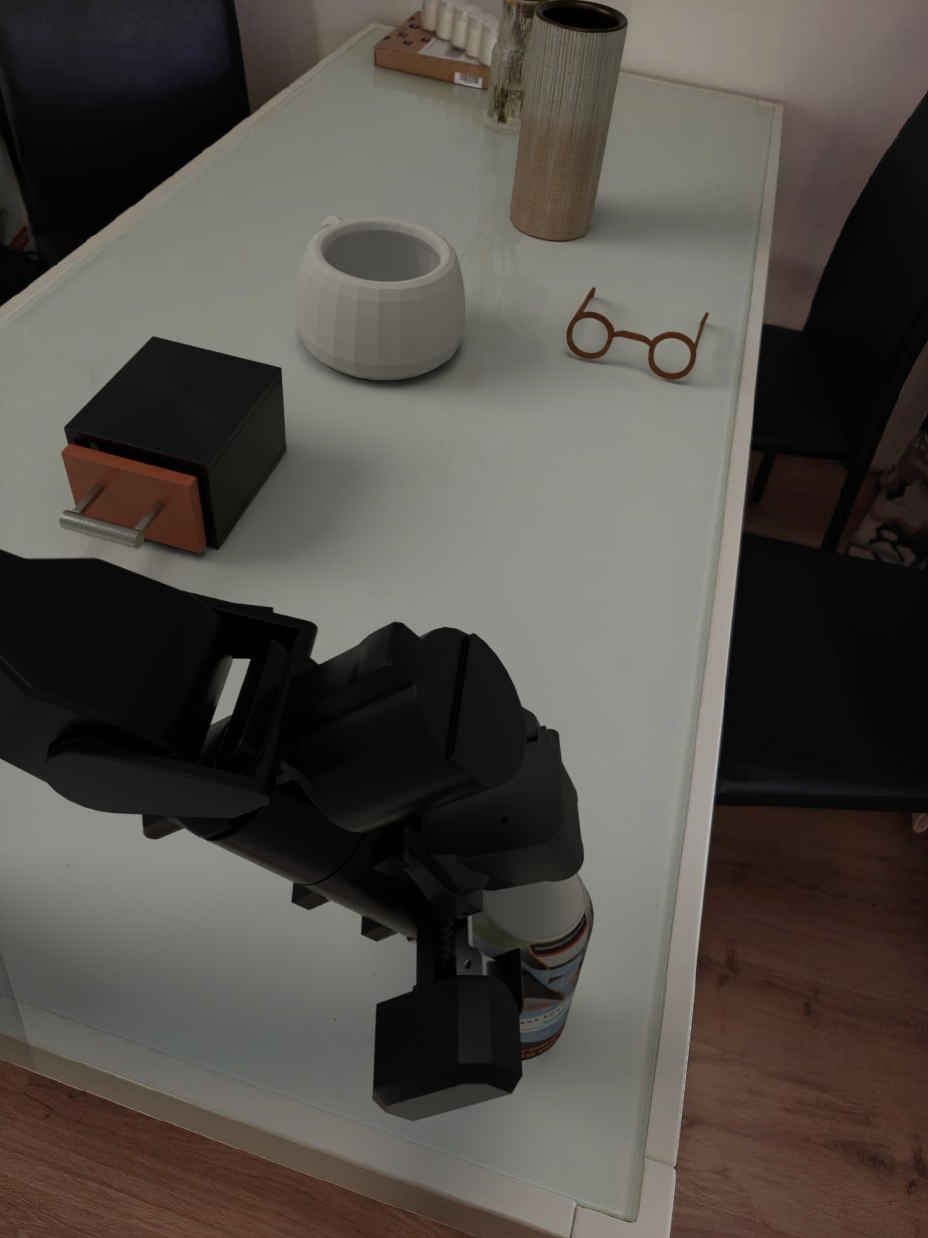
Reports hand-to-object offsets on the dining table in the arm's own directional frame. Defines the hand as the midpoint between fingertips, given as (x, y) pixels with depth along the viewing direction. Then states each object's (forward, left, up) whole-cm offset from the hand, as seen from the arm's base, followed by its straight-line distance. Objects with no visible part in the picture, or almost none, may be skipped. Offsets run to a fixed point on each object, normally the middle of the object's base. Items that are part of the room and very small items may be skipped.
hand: (551, 940), depth 49 cm
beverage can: (-2, 0, -7) cm, 7 cm away
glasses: (+25, +68, -9) cm, 73 cm away
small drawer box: (-20, +47, -9) cm, 52 cm away
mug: (-3, +70, -9) cm, 71 cm away
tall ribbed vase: (+21, +94, -9) cm, 97 cm away
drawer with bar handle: (-22, +43, -8) cm, 49 cm away
